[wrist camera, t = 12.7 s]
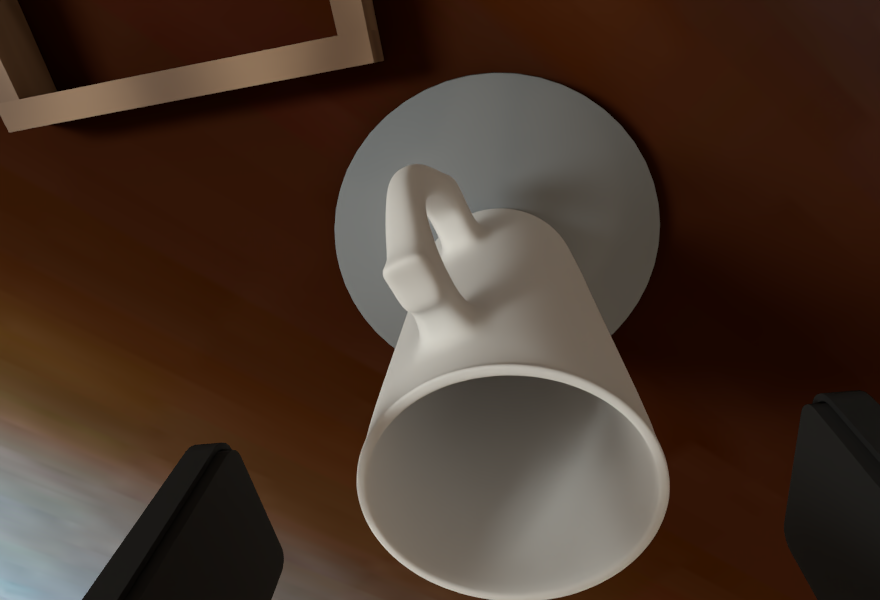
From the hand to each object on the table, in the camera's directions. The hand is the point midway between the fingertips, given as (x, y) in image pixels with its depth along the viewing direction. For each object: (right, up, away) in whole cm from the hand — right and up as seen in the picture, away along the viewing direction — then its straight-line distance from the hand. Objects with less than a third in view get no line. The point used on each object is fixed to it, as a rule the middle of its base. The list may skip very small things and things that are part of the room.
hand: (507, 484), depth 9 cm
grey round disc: (+1, +6, +13) cm, 14 cm away
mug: (+1, +5, +13) cm, 14 cm away
